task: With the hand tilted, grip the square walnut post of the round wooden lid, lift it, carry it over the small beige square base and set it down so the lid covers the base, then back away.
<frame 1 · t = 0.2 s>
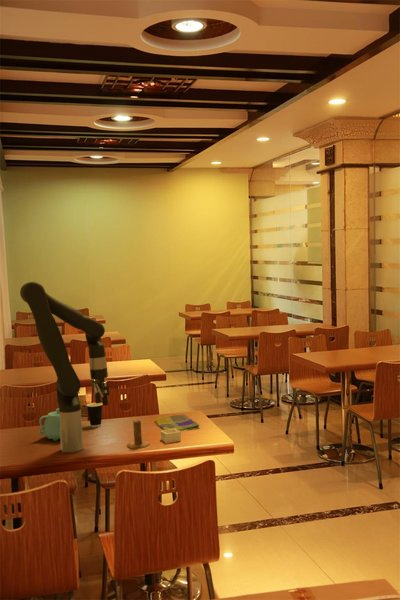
hand: (101, 404, 275), 18 cm above the table, tool pointing down, fingers open, 8 cm apart
lid: (138, 445, 273), on the table
dish towel: (176, 426, 305), on the table
dixie cup: (96, 426, 311), on the table
decorative pot: (61, 437, 293), on the table
beige square base: (170, 440, 278), on the table
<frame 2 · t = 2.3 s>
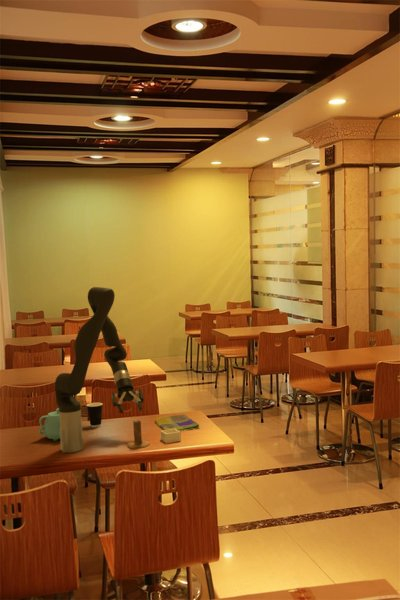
hand: (131, 411, 280), 13 cm above the table, tool tilted 45°, fingers open, 8 cm apart
nothing on the table moved.
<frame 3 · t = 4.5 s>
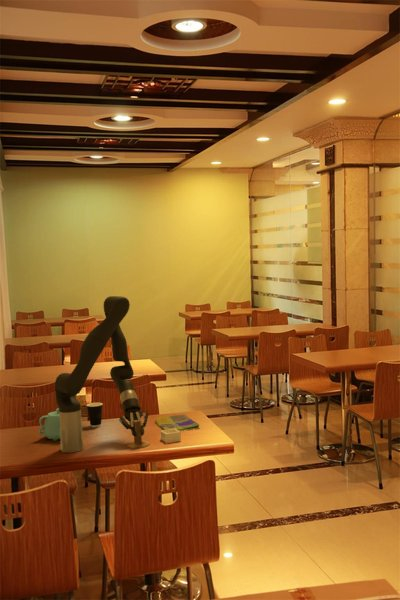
hand: (138, 435, 271), 5 cm above the table, tool tilted 45°, fingers closed on lid, 2 cm apart
lid: (138, 445, 273), on the table, touching gripper
everything else where it was.
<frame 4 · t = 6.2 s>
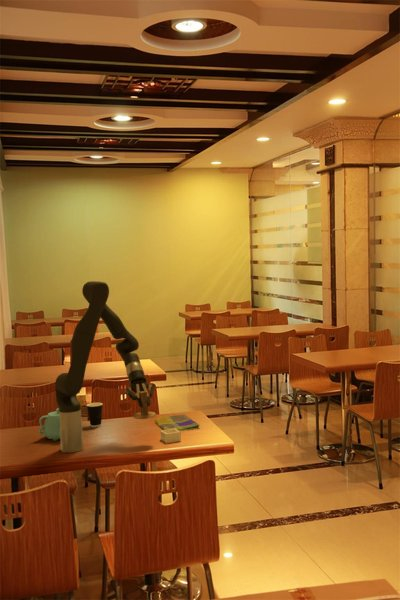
hand: (145, 406, 272), 17 cm above the table, tool tilted 45°, fingers closed on lid, 2 cm apart
lid: (144, 416, 274), point 12 cm above the table, touching gripper
everything else where it was.
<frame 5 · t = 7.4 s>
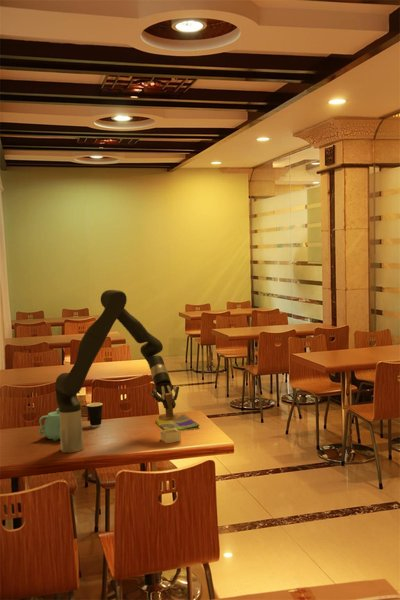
hand: (170, 407, 276), 15 cm above the table, tool tilted 45°, fingers closed on lid, 2 cm apart
lid: (169, 417, 278), point 10 cm above the table, touching gripper
everything else where it was.
when the fingers open (10 cm above the table, at t = 8.3 s): lid drops 1 cm, resting on beige square base.
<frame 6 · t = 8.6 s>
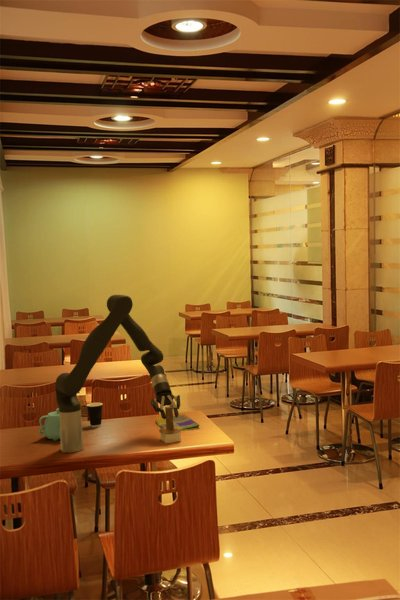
hand: (170, 417, 276), 11 cm above the table, tool tilted 45°, fingers open, 5 cm apart
lid: (170, 431, 278), point 4 cm above the table, touching beige square base
everything else where it was.
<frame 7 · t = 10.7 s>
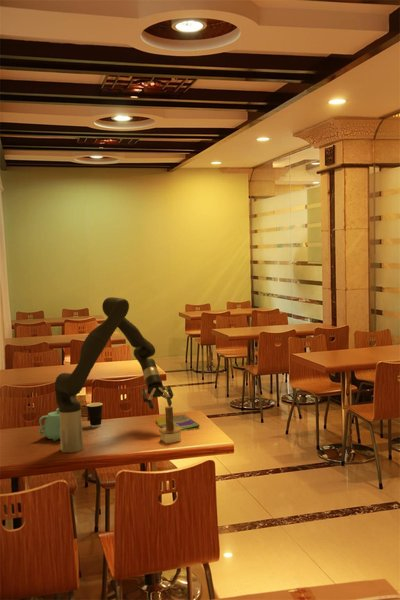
hand: (161, 406, 288), 13 cm above the table, tool tilted 45°, fingers open, 8 cm apart
nothing on the table moved.
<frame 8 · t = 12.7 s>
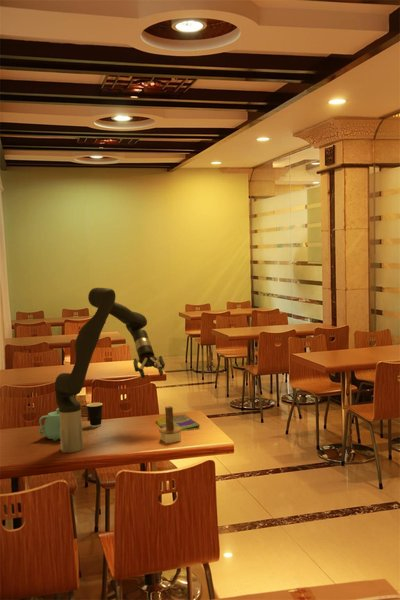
hand: (152, 376, 291), 27 cm above the table, tool tilted 45°, fingers open, 8 cm apart
nothing on the table moved.
at the end: lid 0.1 cm from the beige square base (horizontally); lid point 4.0 cm above the table; lid tilted 0° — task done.
